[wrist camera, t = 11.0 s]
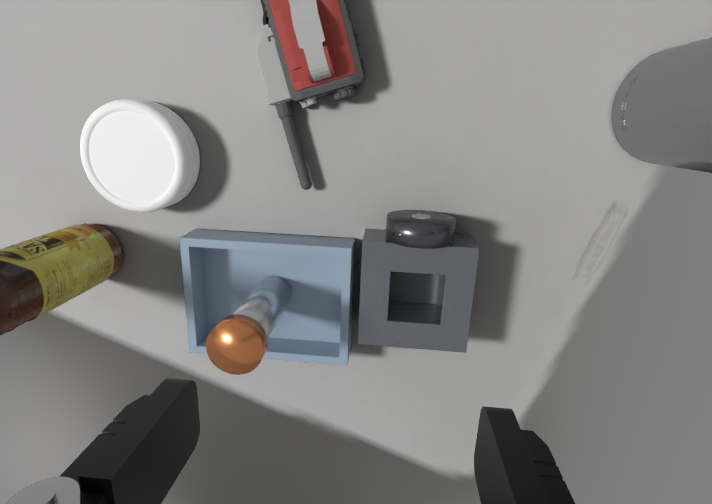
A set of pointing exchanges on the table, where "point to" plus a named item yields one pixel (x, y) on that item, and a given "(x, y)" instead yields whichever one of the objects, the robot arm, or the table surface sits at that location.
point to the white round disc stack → (139, 155)
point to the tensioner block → (417, 255)
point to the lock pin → (249, 327)
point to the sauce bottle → (54, 271)
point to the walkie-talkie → (307, 60)
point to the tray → (266, 258)
